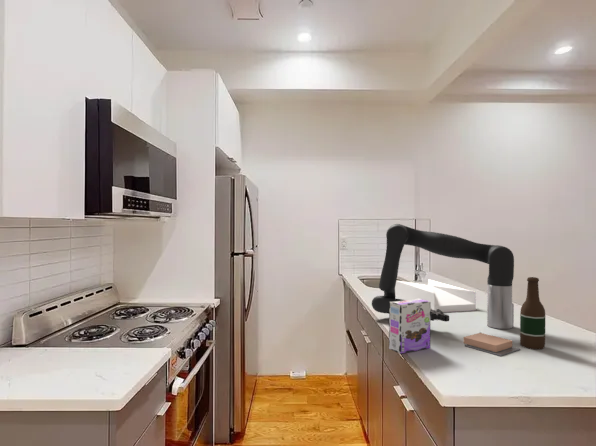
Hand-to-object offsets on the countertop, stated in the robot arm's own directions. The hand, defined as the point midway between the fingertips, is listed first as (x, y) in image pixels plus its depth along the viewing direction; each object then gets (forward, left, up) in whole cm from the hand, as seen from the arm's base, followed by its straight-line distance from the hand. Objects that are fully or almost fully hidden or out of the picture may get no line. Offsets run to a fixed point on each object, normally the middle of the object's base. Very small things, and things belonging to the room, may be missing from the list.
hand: (448, 318), depth 160 cm
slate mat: (-3, +18, -7) cm, 19 cm away
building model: (-38, -53, -7) cm, 66 cm away
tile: (-2, +10, -5) cm, 11 cm away
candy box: (+23, +7, -7) cm, 25 cm away
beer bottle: (-18, +22, -7) cm, 29 cm away
